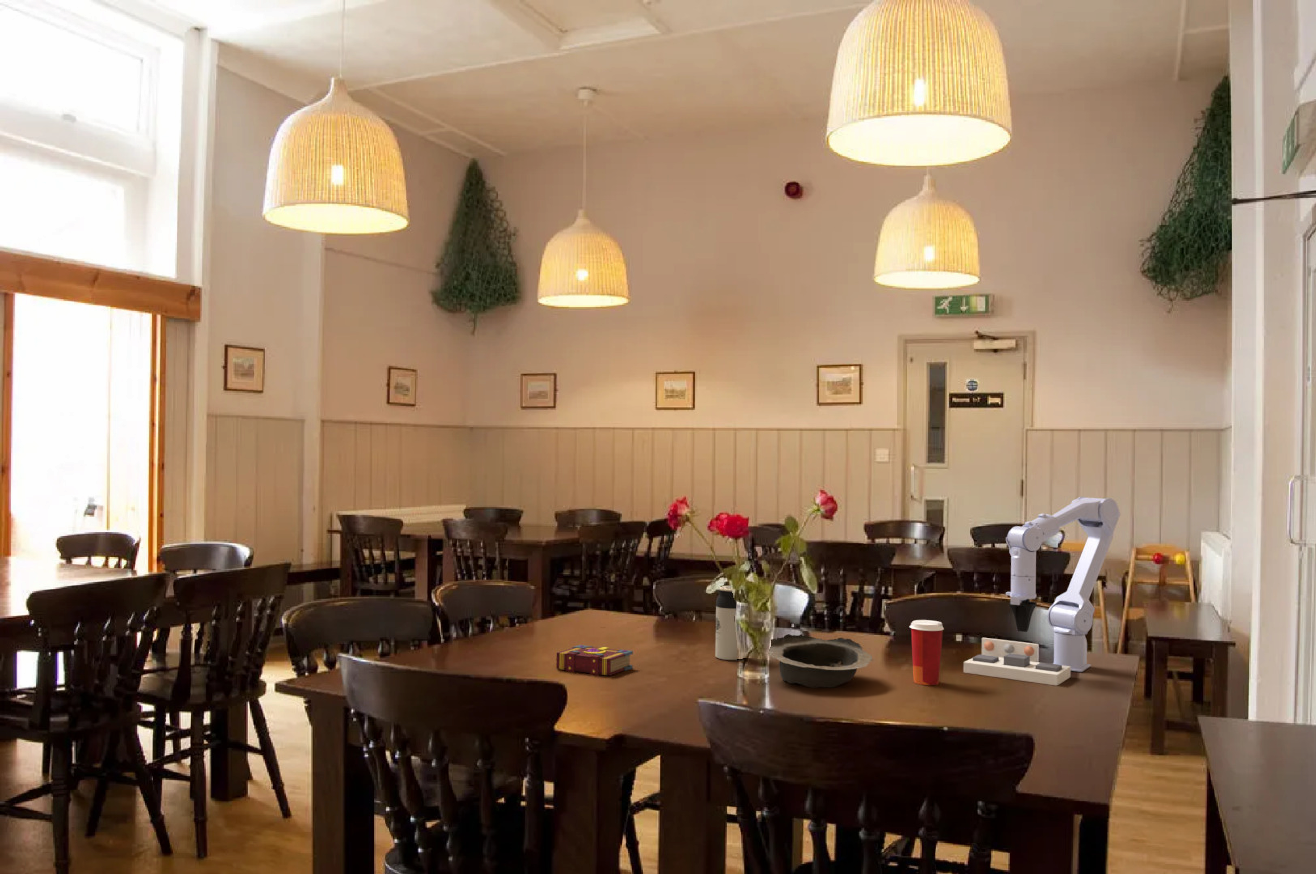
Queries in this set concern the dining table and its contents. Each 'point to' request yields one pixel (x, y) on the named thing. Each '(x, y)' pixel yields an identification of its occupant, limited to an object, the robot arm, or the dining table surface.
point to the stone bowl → (817, 660)
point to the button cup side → (1049, 667)
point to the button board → (1017, 672)
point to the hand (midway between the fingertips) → (1022, 631)
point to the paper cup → (926, 651)
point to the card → (1009, 648)
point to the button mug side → (986, 658)
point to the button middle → (1017, 660)
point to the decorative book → (594, 660)
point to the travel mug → (725, 625)
